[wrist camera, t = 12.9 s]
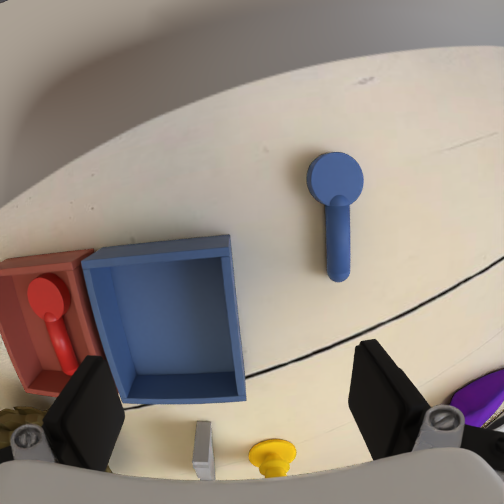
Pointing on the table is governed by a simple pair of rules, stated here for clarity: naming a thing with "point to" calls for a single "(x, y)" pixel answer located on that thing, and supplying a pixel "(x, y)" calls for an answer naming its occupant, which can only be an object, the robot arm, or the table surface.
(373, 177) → the table surface
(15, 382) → the table surface
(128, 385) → the blue bin
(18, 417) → the decorative object
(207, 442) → the grey flat angular piece
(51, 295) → the red ping pong paddle
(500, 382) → the crystal
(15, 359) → the red bin
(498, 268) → the table surface
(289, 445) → the candle
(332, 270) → the blue spoon
